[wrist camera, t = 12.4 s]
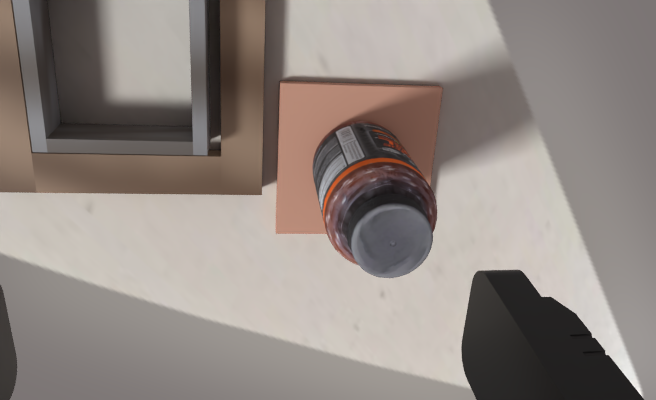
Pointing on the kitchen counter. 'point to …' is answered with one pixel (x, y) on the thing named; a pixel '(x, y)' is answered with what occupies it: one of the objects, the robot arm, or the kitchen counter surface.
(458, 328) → the kitchen counter surface
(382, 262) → the supplement bottle
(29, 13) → the wooden square tray
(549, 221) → the kitchen counter surface
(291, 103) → the mat
